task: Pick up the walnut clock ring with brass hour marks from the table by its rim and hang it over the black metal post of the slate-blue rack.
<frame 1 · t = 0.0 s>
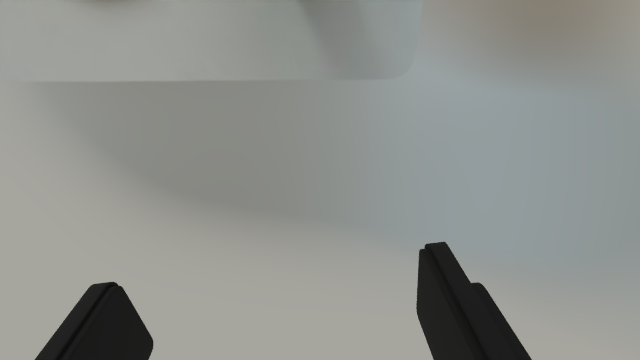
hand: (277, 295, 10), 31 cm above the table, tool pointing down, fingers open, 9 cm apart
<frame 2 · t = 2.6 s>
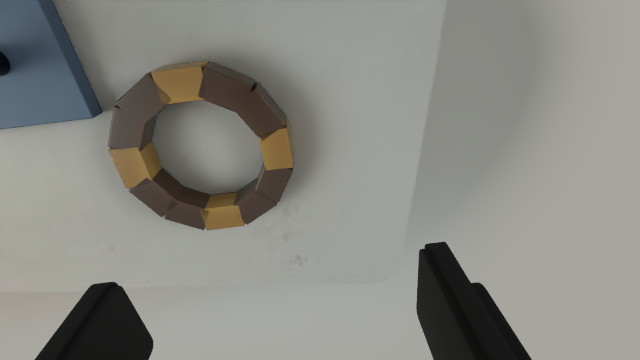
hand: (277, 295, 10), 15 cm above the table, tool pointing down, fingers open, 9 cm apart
rack: (11, 58, 20), on the table
clock ring: (210, 147, 24), on the table
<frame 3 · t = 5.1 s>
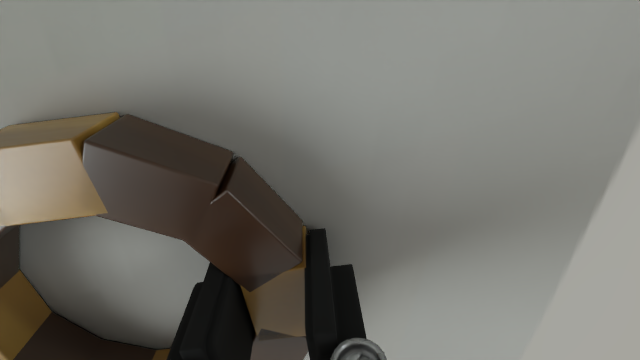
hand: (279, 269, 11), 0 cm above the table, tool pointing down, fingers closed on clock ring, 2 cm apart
clock ring: (146, 278, 12), on the table, touching gripper
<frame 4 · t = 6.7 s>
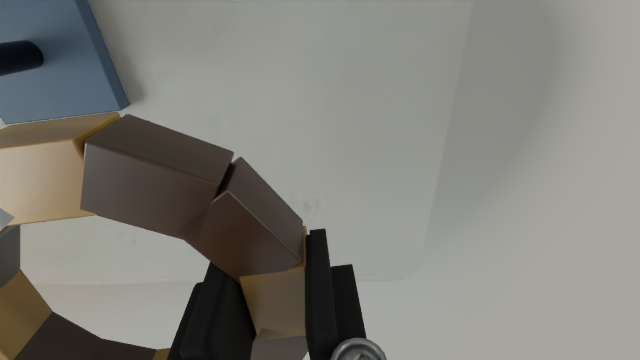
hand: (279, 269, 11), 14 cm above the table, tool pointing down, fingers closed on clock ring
rack: (44, 51, 21), on the table
clock ring: (146, 277, 12), point 14 cm above the table, touching gripper
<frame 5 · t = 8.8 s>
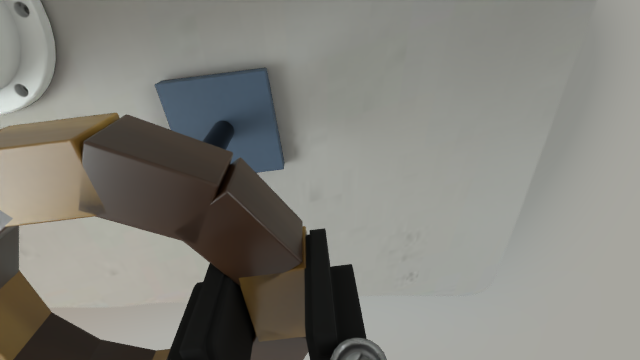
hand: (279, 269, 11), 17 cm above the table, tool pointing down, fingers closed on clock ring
rack: (227, 125, 26), on the table
clock ring: (146, 278, 12), point 16 cm above the table, touching gripper
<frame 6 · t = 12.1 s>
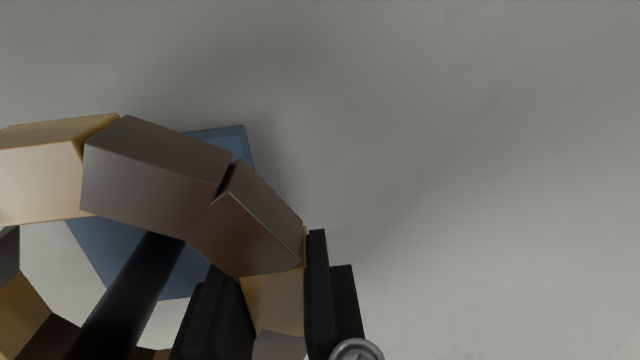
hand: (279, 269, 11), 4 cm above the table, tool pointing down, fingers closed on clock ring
rack: (178, 216, 15), on the table
clock ring: (146, 278, 12), point 4 cm above the table, touching gripper
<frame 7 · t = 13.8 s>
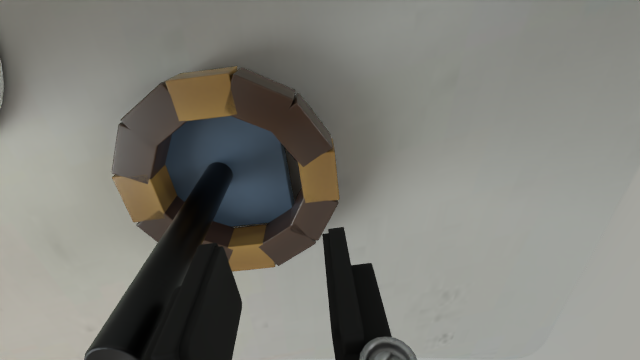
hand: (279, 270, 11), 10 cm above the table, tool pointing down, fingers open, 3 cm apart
rack: (224, 165, 20), on the table
clock ring: (236, 172, 19), point 1 cm above the table, touching rack
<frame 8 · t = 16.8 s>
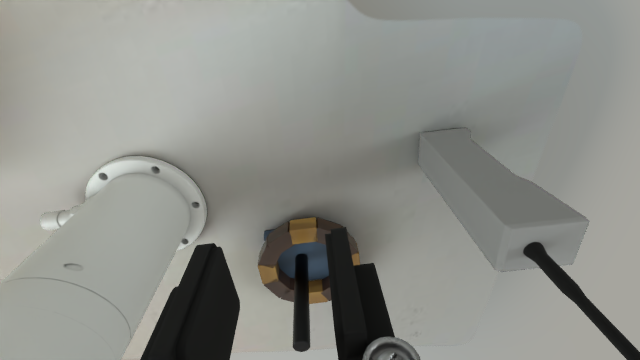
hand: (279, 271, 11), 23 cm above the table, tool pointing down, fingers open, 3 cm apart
rack: (301, 251, 41), on the table
vintage mobile phone: (440, 144, 35), on the table
clock ring: (309, 257, 40), point 1 cm above the table, touching rack
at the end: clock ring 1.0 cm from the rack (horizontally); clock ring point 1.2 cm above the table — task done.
